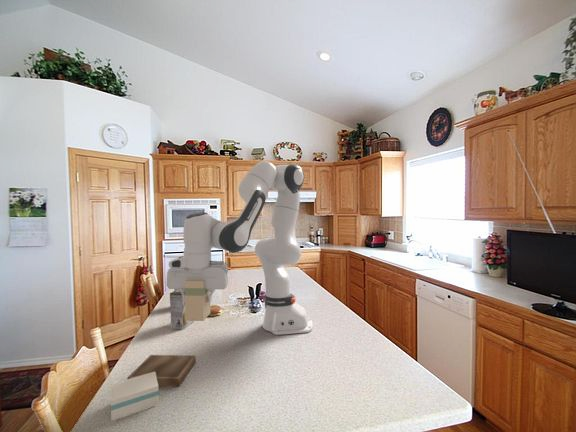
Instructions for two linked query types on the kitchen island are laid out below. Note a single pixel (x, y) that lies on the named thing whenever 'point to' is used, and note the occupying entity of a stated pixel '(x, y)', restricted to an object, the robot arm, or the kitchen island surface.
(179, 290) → the coffee box
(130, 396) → the wide carton
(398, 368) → the kitchen island surface
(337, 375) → the kitchen island surface
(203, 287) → the slim carton
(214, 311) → the hamburger
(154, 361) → the brown wooden tray
